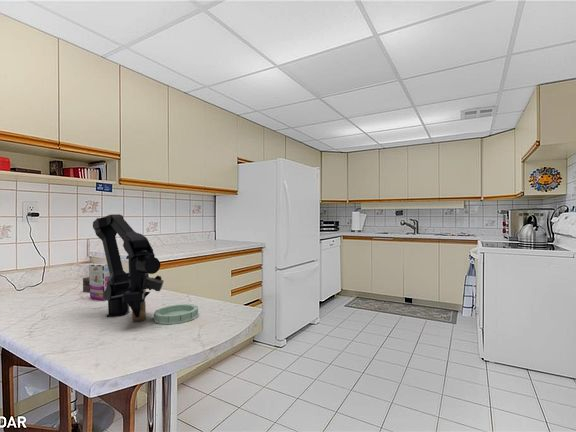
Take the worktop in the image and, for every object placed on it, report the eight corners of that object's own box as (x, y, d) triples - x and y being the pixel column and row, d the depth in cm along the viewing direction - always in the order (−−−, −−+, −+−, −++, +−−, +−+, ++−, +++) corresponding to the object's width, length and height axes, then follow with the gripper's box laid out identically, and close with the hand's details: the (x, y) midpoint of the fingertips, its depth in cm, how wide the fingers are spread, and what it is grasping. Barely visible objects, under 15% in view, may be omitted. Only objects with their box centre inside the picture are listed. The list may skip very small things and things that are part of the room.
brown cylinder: (131, 321, 112) (130, 304, 112) (134, 318, 116) (133, 301, 116) (144, 320, 113) (144, 303, 113) (147, 316, 117) (146, 300, 117)
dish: (151, 326, 108) (150, 318, 108) (158, 313, 122) (158, 306, 122) (197, 321, 111) (196, 313, 111) (198, 309, 126) (198, 302, 126)
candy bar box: (114, 298, 149) (113, 263, 149) (104, 301, 145) (102, 265, 145) (99, 296, 155) (98, 262, 155) (89, 299, 150) (88, 264, 150)
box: (82, 292, 166) (82, 278, 166) (92, 289, 171) (92, 276, 172) (91, 292, 164) (91, 278, 164) (101, 290, 170) (101, 276, 170)
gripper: (157, 274, 108) (158, 320, 107) (165, 266, 126) (166, 305, 126) (121, 277, 105) (122, 324, 105) (134, 268, 123) (135, 308, 123)
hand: (139, 314), depth 115 cm, fingers closed on brown cylinder, 4 cm apart
